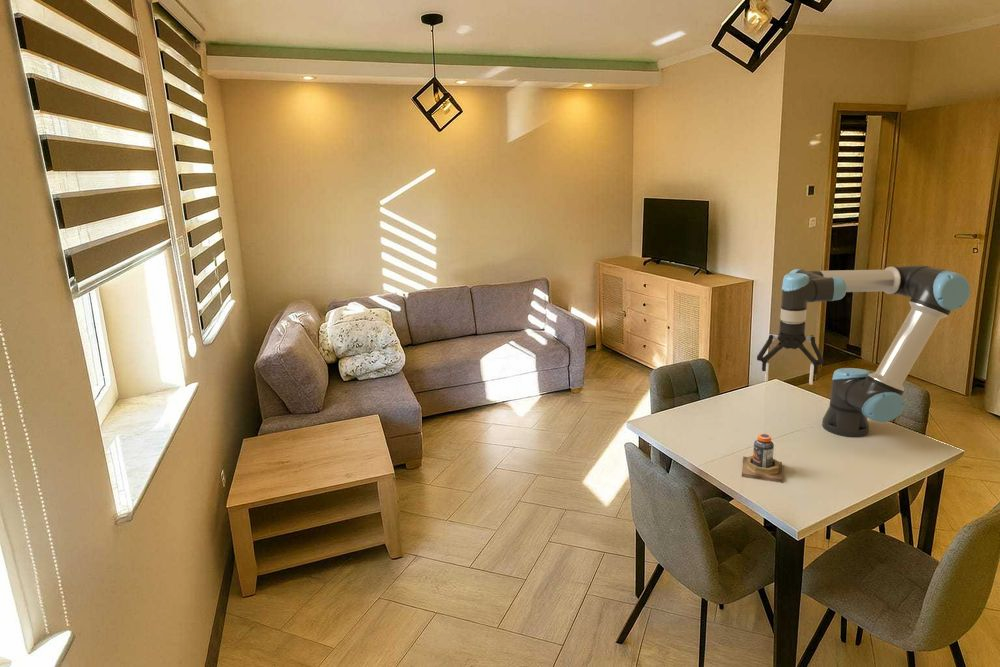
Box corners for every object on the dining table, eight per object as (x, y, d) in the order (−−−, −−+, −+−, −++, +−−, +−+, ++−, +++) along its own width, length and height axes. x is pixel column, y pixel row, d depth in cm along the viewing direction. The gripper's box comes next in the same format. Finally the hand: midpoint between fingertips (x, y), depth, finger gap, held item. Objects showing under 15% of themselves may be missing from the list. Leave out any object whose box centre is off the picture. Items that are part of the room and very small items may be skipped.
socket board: (781, 465, 202) (782, 456, 201) (782, 482, 192) (783, 473, 191) (743, 459, 207) (743, 451, 206) (741, 476, 196) (742, 467, 195)
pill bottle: (749, 463, 202) (751, 432, 199) (766, 462, 202) (769, 431, 199) (757, 472, 196) (759, 440, 193) (775, 470, 196) (778, 438, 193)
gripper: (834, 319, 197) (828, 380, 203) (751, 316, 206) (748, 375, 212) (837, 325, 190) (831, 388, 196) (751, 322, 200) (748, 382, 206)
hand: (788, 381), depth 204 cm, fingers open, 13 cm apart
